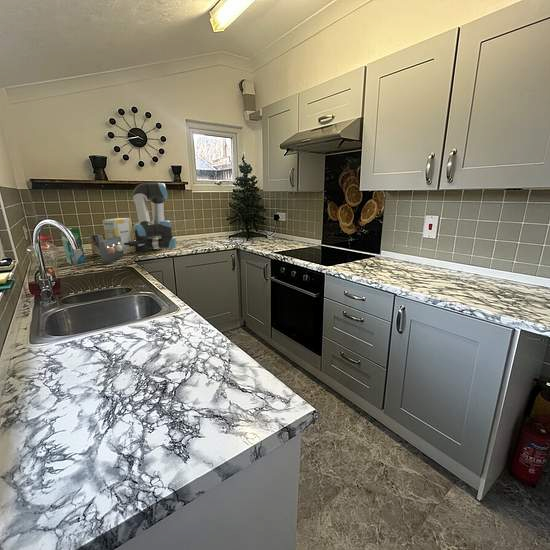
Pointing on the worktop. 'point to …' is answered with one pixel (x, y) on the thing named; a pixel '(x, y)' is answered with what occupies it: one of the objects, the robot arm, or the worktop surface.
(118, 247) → the cream button
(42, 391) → the worktop surface
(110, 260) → the button panel
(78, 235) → the milk carton
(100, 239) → the coffee box
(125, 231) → the pasta box
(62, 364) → the worktop surface
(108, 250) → the terracotta button
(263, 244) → the worktop surface
